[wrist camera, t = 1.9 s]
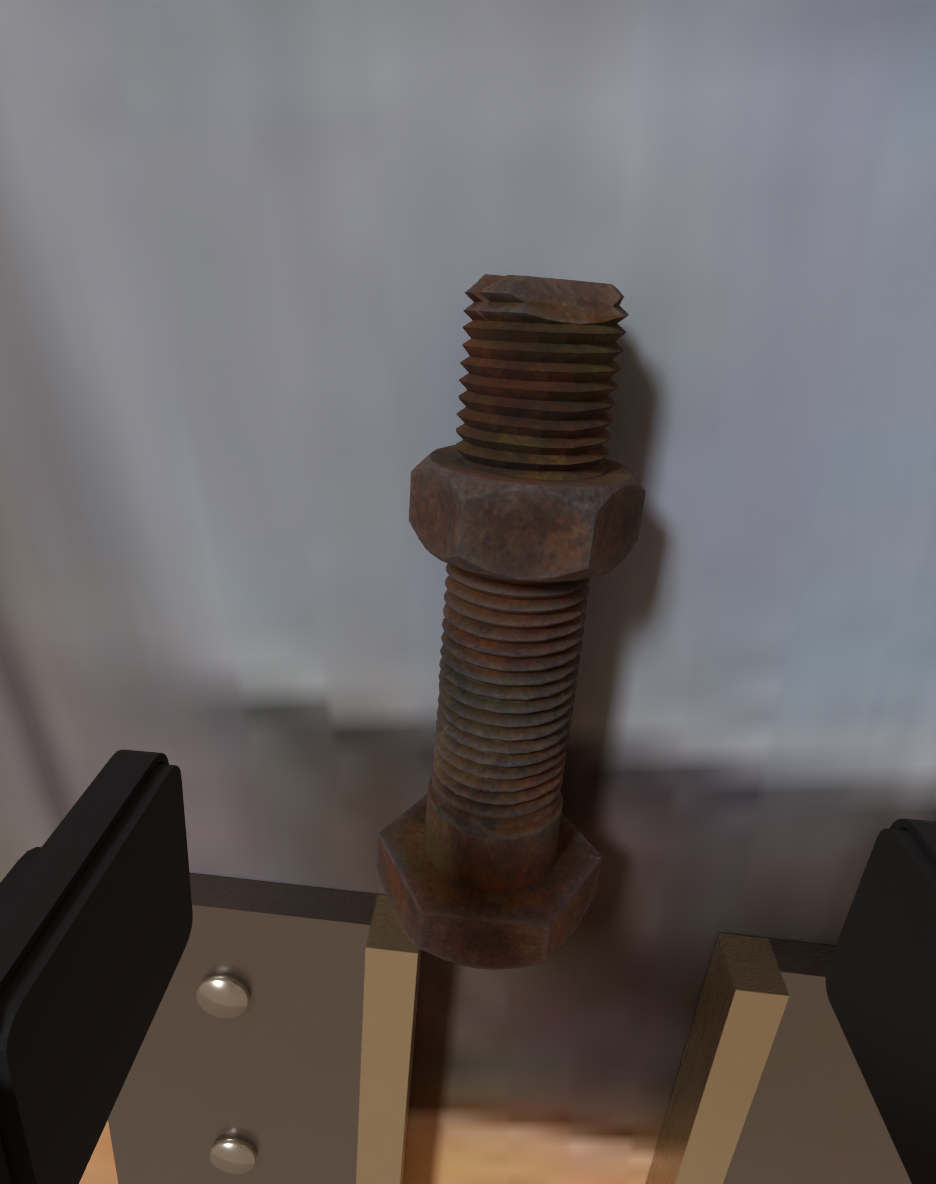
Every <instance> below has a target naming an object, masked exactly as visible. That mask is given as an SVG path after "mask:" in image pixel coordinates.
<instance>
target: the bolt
mask: <svg viewBox="0 0 936 1184" xmlns="http://www.w3.org/2000/svg"><path fill="white" fill-rule="evenodd" d="M465 293H466V294H467V295H468V296H469V297H470V298H471V299H472V300H473V301H474V303H473V304H472V305H470V306H469V307H468V308H466V309H465V310H464V312H465V313H466V314H467V315H468V316H469V317H470V318H471V319H472V320H473V321H472V322H470V323H468V324H467V325H465V326H463V328H464V330H465V331H466V332H467V333H468V335H469V336H470V337H471V339H470V340H468V341H467V342H465V343H464V344H463V347H464V348H465V349H466V351H467V352H468V354H469V355H470V357H468V358H466V359H465V360H463V361H462V362H460V363H461V364H462V365H463V367H464V368H465V369H466V370H467V371H468V372H469V374H467V375H466V376H464V377H463V378H461V379H459V381H460V382H461V383H462V384H463V385H464V386H465V387H466V389H467V391H466V392H464V393H462V394H461V395H459V399H460V400H461V401H462V402H463V404H464V405H465V406H466V407H465V408H464V409H463V410H461V411H460V412H458V413H457V415H458V416H459V417H460V418H461V420H462V421H463V422H464V423H465V424H463V425H461V426H460V427H458V428H457V429H456V431H457V433H458V434H459V435H460V436H461V438H462V439H463V440H462V441H460V442H459V443H457V444H456V445H452V446H448V447H444V448H440V449H436V450H435V451H433V452H432V453H431V454H430V455H428V456H427V457H426V458H425V459H424V460H423V461H422V462H421V463H420V464H419V465H417V466H416V467H415V468H414V469H413V470H412V471H411V487H410V508H409V521H410V523H411V525H412V527H413V529H414V531H415V532H416V534H417V536H418V538H419V540H420V541H421V542H422V544H423V545H424V547H425V548H426V549H427V550H428V551H429V552H430V553H431V554H432V555H434V556H435V557H437V558H438V559H440V560H441V561H444V562H446V563H448V564H447V566H446V571H447V573H448V574H449V576H448V577H447V578H446V580H445V585H446V587H447V589H448V590H447V591H446V592H445V594H444V599H445V601H446V604H445V607H444V609H443V612H444V616H445V618H444V619H443V622H442V626H443V629H444V633H443V635H442V636H441V639H442V642H443V646H442V648H441V650H440V652H441V655H442V659H441V661H440V664H439V665H440V668H441V671H440V674H439V680H440V683H439V691H440V695H439V698H438V703H439V707H438V710H437V717H438V719H437V721H436V733H435V747H434V755H435V756H434V759H433V774H432V777H431V779H430V782H429V785H428V794H427V795H426V796H425V797H423V798H422V799H421V800H420V801H418V802H417V803H416V804H415V805H413V806H412V807H411V808H410V809H408V810H407V811H406V812H405V813H403V814H402V815H401V816H400V817H398V818H397V819H396V820H395V821H393V822H392V823H391V824H390V825H388V826H387V827H386V828H385V829H383V830H382V831H381V832H380V833H378V844H377V870H378V873H379V876H380V879H381V882H382V885H383V888H384V891H385V894H386V896H387V898H388V901H389V903H390V905H391V907H392V909H393V911H394V914H395V916H396V918H397V920H398V922H399V924H400V926H401V928H402V929H403V931H404V932H405V933H406V935H407V936H408V938H409V939H410V940H411V941H412V942H413V943H414V944H415V945H416V946H417V947H418V948H419V949H420V950H422V951H425V952H427V953H429V954H432V955H434V956H436V957H438V958H441V959H443V960H445V961H449V962H452V963H455V964H459V965H462V966H467V967H473V968H479V969H492V970H498V969H512V968H520V967H525V966H531V965H536V964H541V963H545V962H546V961H547V960H549V959H550V958H551V957H552V956H554V955H555V954H556V953H557V952H558V951H559V950H560V948H561V947H562V946H563V945H564V943H565V942H566V941H567V940H568V938H569V937H570V936H571V934H572V933H573V932H574V930H575V929H576V928H577V926H578V924H579V923H580V921H581V919H582V918H583V916H584V914H585V913H586V911H587V909H588V907H589V905H590V903H591V901H592V899H593V897H594V895H595V893H596V891H597V887H598V881H599V876H600V870H601V865H602V859H603V857H602V856H601V855H600V854H599V852H598V851H597V850H596V849H595V848H594V847H593V846H592V845H591V844H590V843H589V842H588V840H587V839H586V838H585V837H584V836H583V835H582V834H581V833H580V832H579V831H578V830H577V828H576V827H575V826H574V825H573V824H572V823H571V822H570V821H569V820H568V819H567V818H566V816H565V815H564V814H563V813H562V806H563V798H562V793H561V791H560V789H561V786H562V782H563V773H564V764H565V759H566V751H567V740H568V737H569V733H570V732H569V727H570V725H571V716H572V712H573V703H574V698H575V688H576V685H577V683H576V676H577V674H578V667H577V665H578V663H579V661H580V653H579V652H580V651H581V646H582V641H581V638H582V635H583V633H584V629H583V626H582V625H583V623H584V620H585V613H584V611H585V608H586V605H587V600H586V596H587V594H588V592H589V586H588V582H589V580H590V578H591V577H595V576H599V575H603V574H605V573H607V572H609V571H611V570H613V569H614V568H615V567H616V566H617V565H618V564H619V563H620V562H621V561H622V560H623V559H624V558H625V557H626V556H627V554H628V553H629V552H630V550H631V549H632V547H633V546H634V545H635V543H636V542H637V540H638V534H639V528H640V522H641V516H642V510H643V504H644V497H645V490H644V489H643V488H642V486H641V485H640V484H639V482H638V481H637V480H636V478H635V477H634V476H633V474H632V473H631V472H630V471H629V470H628V469H627V468H626V467H624V466H622V465H620V464H619V463H617V462H614V461H611V460H608V459H605V457H606V456H608V452H609V451H608V450H607V449H606V448H605V447H604V446H603V445H602V444H604V443H605V442H606V441H608V440H609V439H610V438H611V437H610V433H609V432H608V431H607V430H606V429H604V428H605V427H606V426H607V425H609V424H610V423H611V422H613V418H612V417H611V416H610V415H609V414H608V413H607V412H606V411H607V410H609V409H610V408H611V407H613V406H614V405H615V401H614V400H613V399H612V398H610V397H609V396H608V394H610V393H611V392H612V391H613V390H614V389H616V388H617V387H618V386H617V384H616V383H615V382H614V381H613V380H612V379H611V378H610V377H611V376H612V375H614V374H615V373H616V372H617V371H619V370H620V367H619V366H618V365H617V364H616V363H615V362H614V361H613V359H614V358H615V357H616V356H617V355H618V354H619V353H621V352H622V351H623V349H622V348H621V347H620V346H619V345H618V344H617V343H616V342H615V341H616V340H617V339H618V338H620V337H621V336H622V335H624V334H625V331H624V330H623V329H622V328H621V327H620V326H619V325H618V324H617V323H618V322H620V321H621V320H623V319H624V318H626V317H627V316H628V313H627V312H626V311H625V310H623V309H622V308H621V307H620V306H619V305H620V303H621V301H622V299H623V298H624V296H623V295H622V294H621V293H620V291H619V290H618V289H617V288H616V287H614V286H613V285H612V284H604V283H594V282H584V281H574V280H563V279H552V278H541V277H530V276H516V275H507V276H499V275H488V274H485V275H484V276H483V277H482V278H481V279H480V280H479V281H478V282H477V283H476V284H475V285H473V286H472V287H471V288H470V289H469V290H468V291H466V292H465Z"/></svg>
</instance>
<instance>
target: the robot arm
mask: <svg viewBox="0 0 936 1184" xmlns="http://www.w3.org/2000/svg"><path fill="white" fill-rule="evenodd" d="M192 921H193V911H192V899H191V887H190V875H189V863H188V851H187V839H186V827H185V815H184V803H183V791H182V779H181V772H180V769H179V767H178V766H176V765H169V763H168V759H167V757H166V755H165V754H163V753H156V752H144V751H133V750H119V751H117V752H116V753H115V754H114V755H113V756H112V757H111V759H110V760H109V761H108V762H107V764H106V765H105V766H104V768H103V769H102V770H101V771H100V773H99V774H98V775H97V777H96V778H95V779H94V780H93V782H92V783H91V784H90V786H89V787H88V788H87V789H86V791H85V792H84V793H83V795H82V796H81V797H80V798H79V800H78V801H77V802H76V804H75V805H74V806H73V807H72V809H71V810H70V811H69V813H68V814H67V815H66V817H65V818H64V819H63V820H62V822H61V823H60V824H59V826H58V827H57V828H56V829H55V831H54V832H53V833H52V835H51V836H50V837H49V838H48V840H47V841H46V842H45V844H44V845H43V846H42V847H35V848H33V849H31V850H29V851H27V852H26V853H25V854H24V855H23V856H22V857H21V858H20V859H19V860H18V861H17V863H16V864H15V865H14V866H13V868H12V869H11V870H10V871H9V873H8V874H7V875H6V876H5V878H4V879H3V880H2V881H1V883H0V1184H79V1182H80V1180H81V1178H82V1175H83V1173H84V1171H85V1169H86V1166H87V1164H88V1162H89V1160H90V1158H91V1155H92V1153H93V1151H94V1149H95V1147H96V1144H97V1142H98V1140H99V1138H100V1136H101V1133H102V1131H103V1129H104V1127H105V1124H106V1122H107V1120H108V1118H109V1116H110V1113H111V1111H112V1109H113V1107H114V1105H115V1102H116V1100H117V1098H118V1096H119V1094H120V1091H121V1089H122V1087H123V1085H124V1082H125V1080H126V1078H127V1076H128V1074H129V1071H130V1069H131V1067H132V1065H133V1063H134V1060H135V1058H136V1056H137V1054H138V1052H139V1049H140V1047H141V1045H142V1043H143V1040H144V1038H145V1036H146V1034H147V1032H148V1029H149V1027H150V1025H151V1023H152V1021H153V1018H154V1016H155V1014H156V1012H157V1010H158V1007H159V1005H160V1003H161V1001H162V999H163V996H164V994H165V992H166V990H167V987H168V985H169V983H170V981H171V979H172V976H173V974H174V972H175V970H176V968H177V965H178V963H179V961H180V959H181V957H182V954H183V952H184V950H185V948H186V945H187V943H188V940H189V937H190V933H191V928H192ZM825 982H826V991H827V996H828V999H829V1001H830V1004H831V1006H832V1008H833V1011H834V1013H835V1015H836V1017H837V1019H838V1022H839V1024H840V1026H841V1028H842V1031H843V1033H844V1035H845V1037H846V1039H847V1042H848V1044H849V1046H850V1048H851V1050H852V1053H853V1055H854V1057H855V1059H856V1062H857V1064H858V1066H859V1068H860V1070H861V1073H862V1075H863V1077H864V1079H865V1081H866V1084H867V1086H868V1088H869V1090H870V1092H871V1095H872V1097H873V1099H874V1101H875V1104H876V1106H877V1108H878V1110H879V1112H880V1115H881V1117H882V1119H883V1121H884V1123H885V1126H886V1128H887V1130H888V1132H889V1134H890V1137H891V1139H892V1141H893V1143H894V1146H895V1148H896V1150H897V1152H898V1154H899V1157H900V1159H901V1161H902V1163H903V1165H904V1168H905V1170H906V1172H907V1174H908V1177H909V1179H910V1181H911V1183H912V1184H936V822H934V821H923V820H912V819H898V820H896V821H895V822H894V823H893V824H892V825H891V827H890V829H883V830H882V831H881V832H880V833H879V835H878V837H877V839H876V842H875V845H874V847H873V850H872V852H871V855H870V858H869V860H868V863H867V866H866V868H865V871H864V874H863V876H862V879H861V881H860V884H859V887H858V889H857V892H856V895H855V897H854V900H853V902H852V905H851V908H850V910H849V913H848V916H847V918H846V921H845V924H844V926H843V929H842V931H841V934H840V937H839V939H838V942H837V945H836V947H835V950H834V952H833V955H832V958H831V960H830V963H829V966H828V968H827V972H826V981H825Z"/></svg>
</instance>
